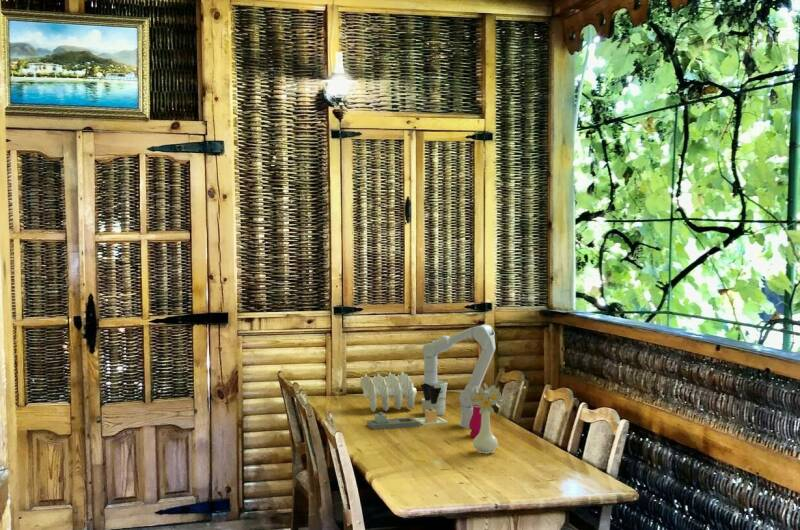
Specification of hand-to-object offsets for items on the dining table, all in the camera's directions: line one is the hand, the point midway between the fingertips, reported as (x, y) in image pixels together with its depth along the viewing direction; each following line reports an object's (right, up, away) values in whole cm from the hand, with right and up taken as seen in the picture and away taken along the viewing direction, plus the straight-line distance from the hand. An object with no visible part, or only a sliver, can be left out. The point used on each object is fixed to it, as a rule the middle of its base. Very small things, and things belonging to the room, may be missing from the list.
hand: (430, 402), depth 371 cm
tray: (0, -9, 0) cm, 9 cm away
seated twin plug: (-22, -9, -9) cm, 25 cm away
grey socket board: (-16, -9, -7) cm, 20 cm away
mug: (+5, -8, +50) cm, 51 cm away
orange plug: (0, -9, 0) cm, 9 cm away
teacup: (+3, -9, +17) cm, 19 cm away
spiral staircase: (-18, -9, +28) cm, 34 cm away
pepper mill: (+18, -10, -25) cm, 33 cm away
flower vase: (+19, -11, -52) cm, 57 cm away
